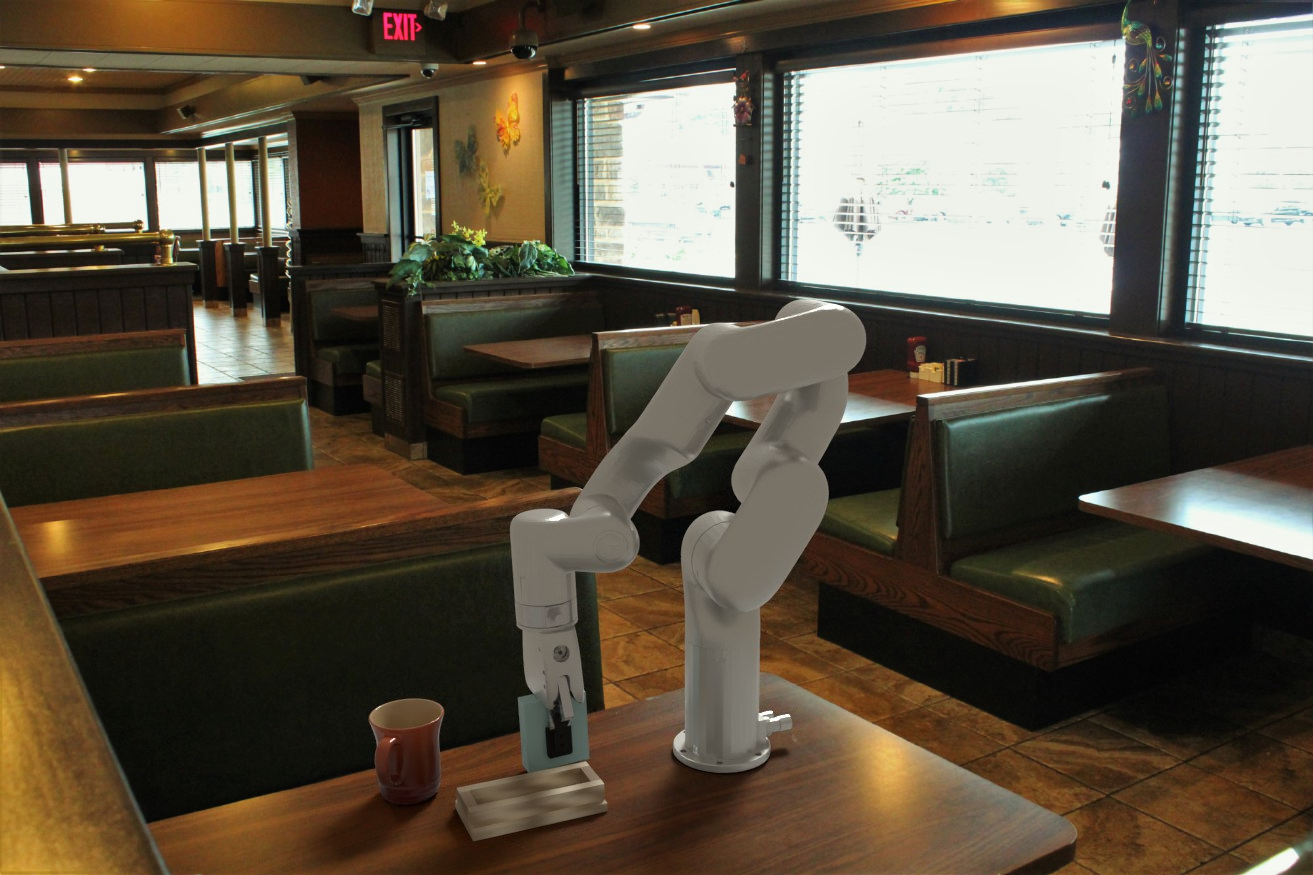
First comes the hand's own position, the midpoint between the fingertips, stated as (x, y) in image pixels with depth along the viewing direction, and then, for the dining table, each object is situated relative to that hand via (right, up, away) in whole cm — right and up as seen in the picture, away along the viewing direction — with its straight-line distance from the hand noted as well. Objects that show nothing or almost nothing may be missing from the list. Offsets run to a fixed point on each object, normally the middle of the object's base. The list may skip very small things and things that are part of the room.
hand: (555, 748), depth 142 cm
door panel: (0, -2, 0) cm, 2 cm away
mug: (-17, -4, -7) cm, 19 cm away
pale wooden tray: (-2, -4, -10) cm, 11 cm away
